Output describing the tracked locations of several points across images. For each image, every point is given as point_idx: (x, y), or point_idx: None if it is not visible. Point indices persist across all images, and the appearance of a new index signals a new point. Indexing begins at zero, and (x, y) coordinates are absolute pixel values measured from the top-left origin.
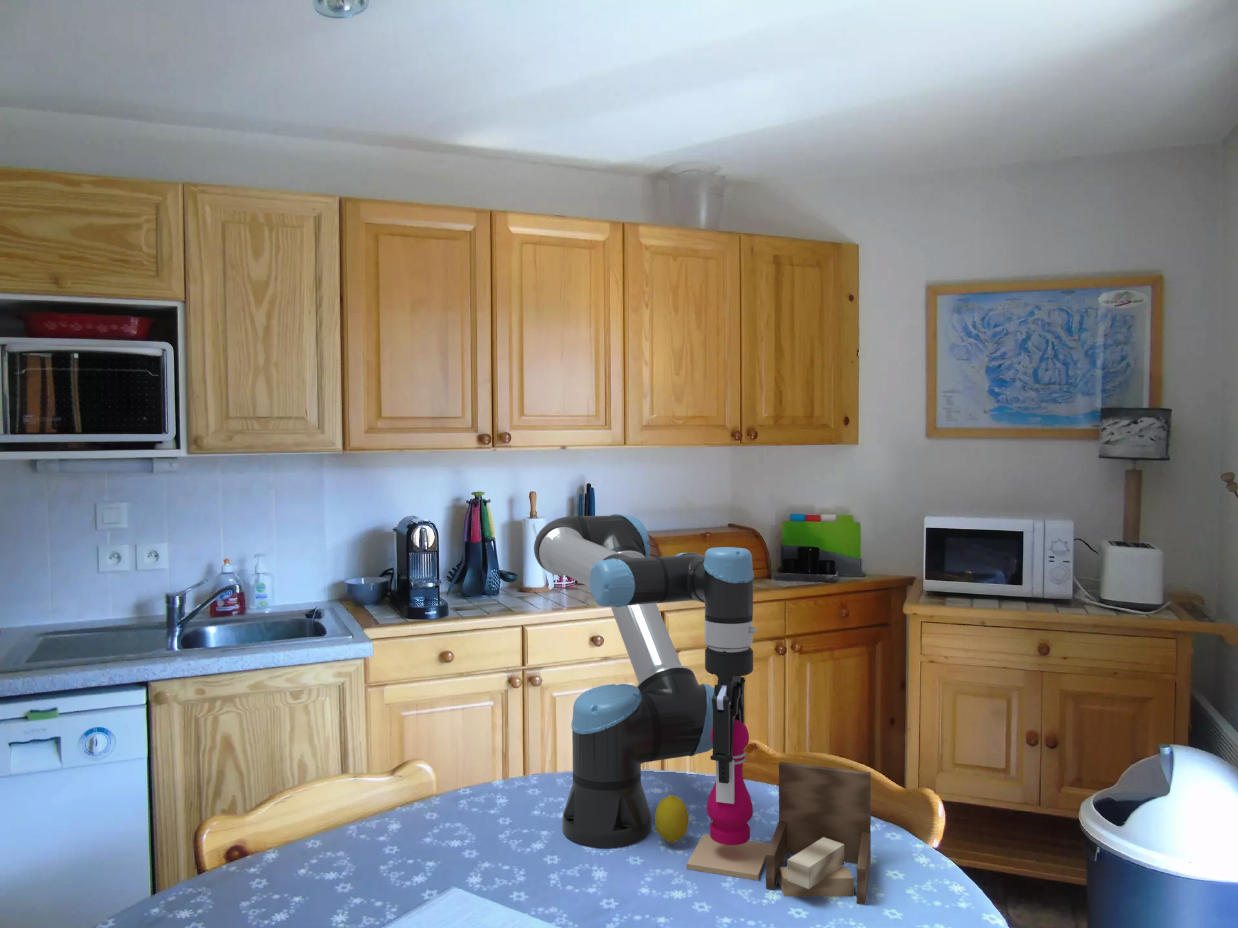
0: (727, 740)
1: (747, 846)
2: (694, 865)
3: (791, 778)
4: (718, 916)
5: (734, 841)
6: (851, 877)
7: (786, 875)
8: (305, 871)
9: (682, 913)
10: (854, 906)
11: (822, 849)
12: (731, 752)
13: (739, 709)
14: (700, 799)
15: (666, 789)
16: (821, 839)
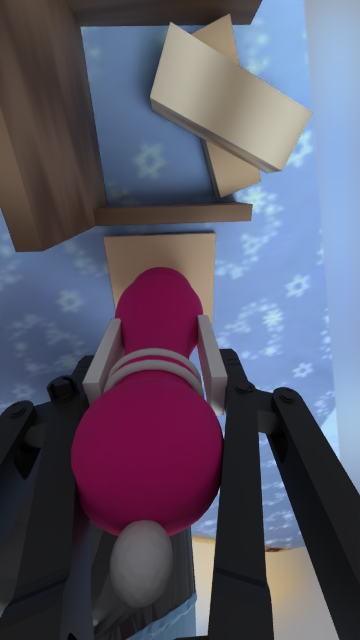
0: (334, 459)
1: (129, 269)
2: (211, 320)
3: (50, 200)
4: (319, 261)
5: (190, 285)
6: (227, 20)
7: (249, 178)
8: (285, 525)
9: (316, 301)
10: (261, 29)
11: (218, 89)
12: (249, 402)
13: (70, 576)
14: (4, 364)
15: (5, 405)
16: (165, 101)
